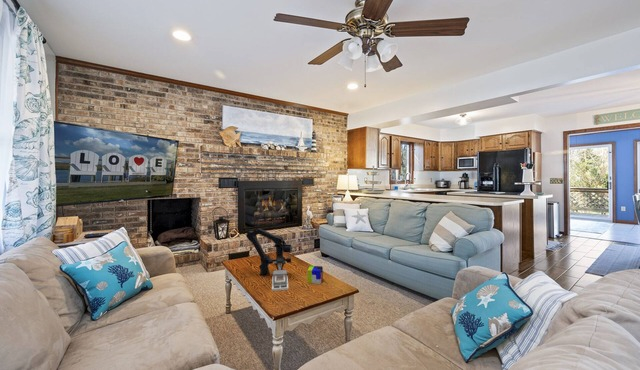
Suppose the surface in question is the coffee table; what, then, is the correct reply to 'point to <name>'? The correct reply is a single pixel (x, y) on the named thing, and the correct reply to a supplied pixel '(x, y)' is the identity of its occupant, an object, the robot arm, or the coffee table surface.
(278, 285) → the board
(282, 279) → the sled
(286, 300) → the coffee table surface
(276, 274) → the tunnel
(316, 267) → the puzzle toy
